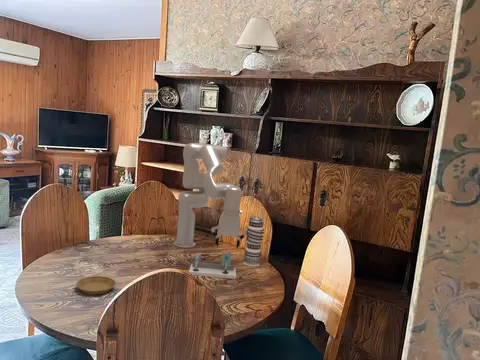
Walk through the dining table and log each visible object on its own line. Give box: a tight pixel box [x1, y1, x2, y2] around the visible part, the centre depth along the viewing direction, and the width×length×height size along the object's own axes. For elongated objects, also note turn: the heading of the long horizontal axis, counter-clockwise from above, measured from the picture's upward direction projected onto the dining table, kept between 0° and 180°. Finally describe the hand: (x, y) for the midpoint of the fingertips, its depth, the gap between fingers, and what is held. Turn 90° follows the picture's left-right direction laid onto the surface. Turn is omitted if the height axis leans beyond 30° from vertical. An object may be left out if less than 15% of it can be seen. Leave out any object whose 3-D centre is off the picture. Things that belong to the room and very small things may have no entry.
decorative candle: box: [243, 216, 265, 267], centre depth 202 cm, size 9×9×25 cm
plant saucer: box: [76, 275, 116, 296], centre depth 155 cm, size 15×15×3 cm
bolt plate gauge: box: [188, 253, 237, 280], centre depth 185 cm, size 10×22×8 cm, turn 92°
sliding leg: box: [221, 252, 232, 272], centre depth 185 cm, size 8×4×7 cm, turn 2°
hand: (227, 246), depth 187 cm, fingers open, 9 cm apart
